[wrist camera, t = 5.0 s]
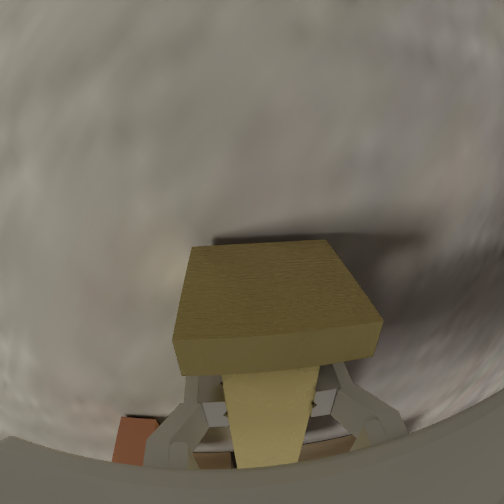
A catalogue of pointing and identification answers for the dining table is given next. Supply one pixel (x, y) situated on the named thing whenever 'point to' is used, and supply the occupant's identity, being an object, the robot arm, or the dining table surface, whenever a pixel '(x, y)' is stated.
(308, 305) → the pin
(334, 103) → the dining table surface
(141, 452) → the orange block
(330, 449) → the block
